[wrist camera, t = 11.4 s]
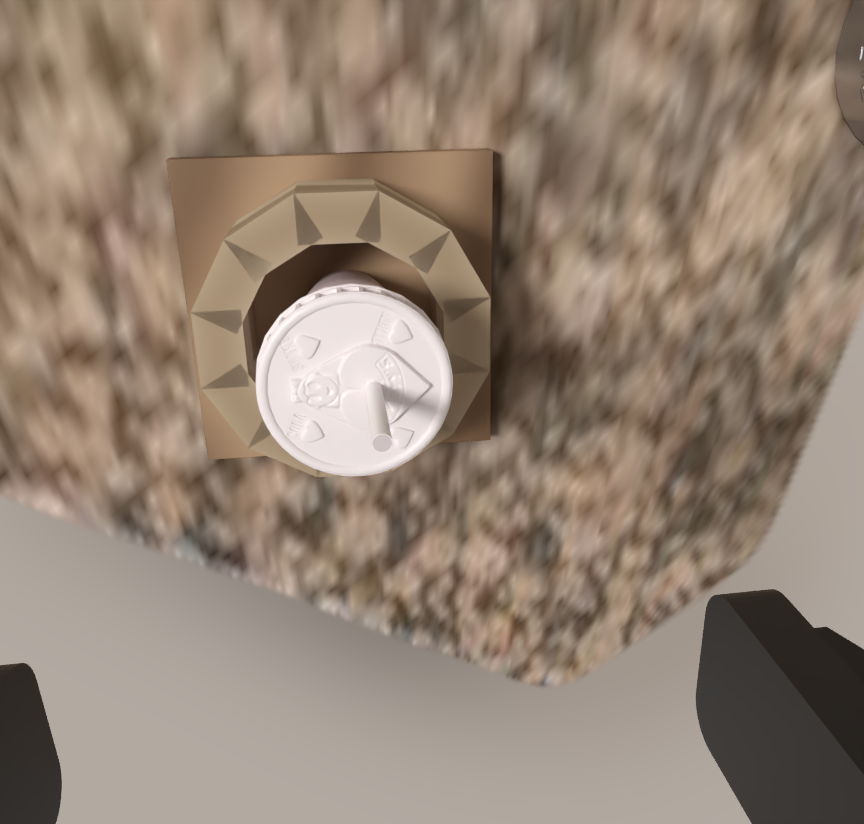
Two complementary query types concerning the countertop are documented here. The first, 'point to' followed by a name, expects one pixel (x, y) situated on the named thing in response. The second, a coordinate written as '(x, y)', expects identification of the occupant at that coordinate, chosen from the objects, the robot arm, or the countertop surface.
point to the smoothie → (353, 377)
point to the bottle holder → (331, 267)
